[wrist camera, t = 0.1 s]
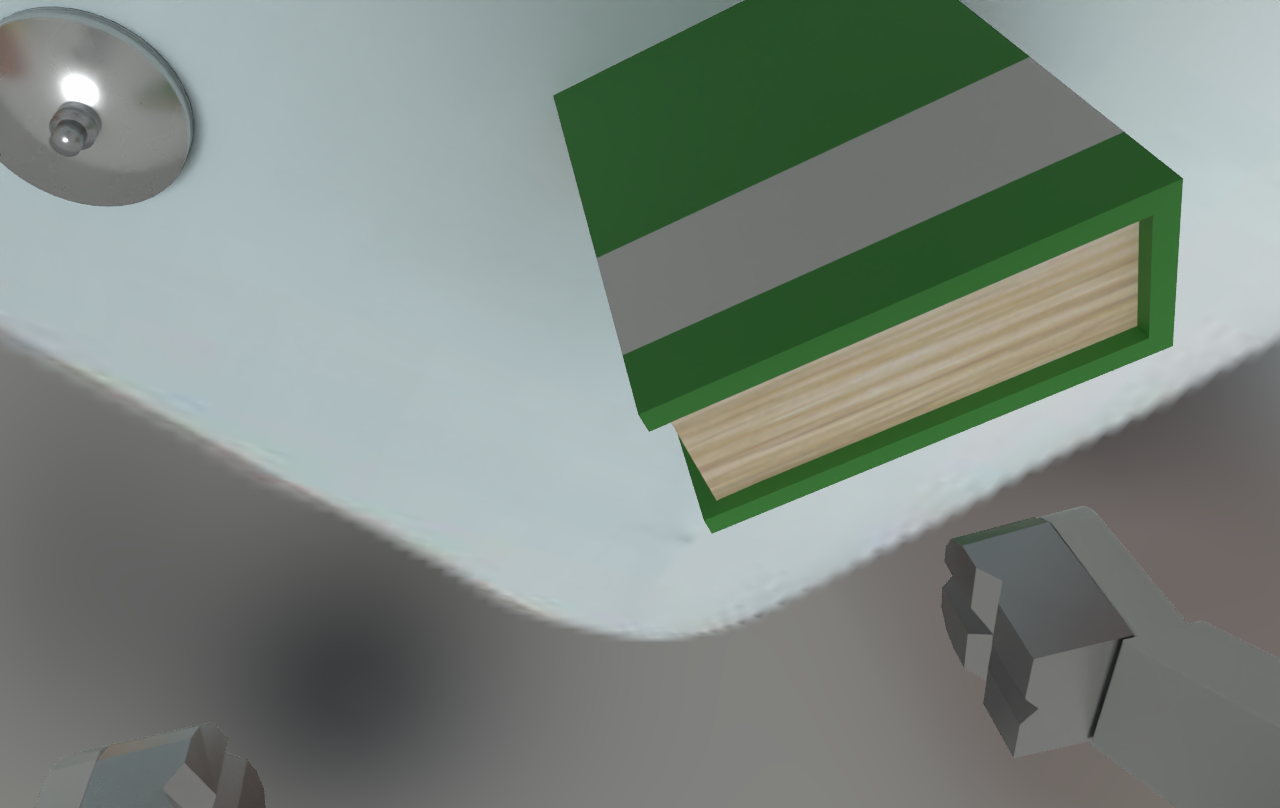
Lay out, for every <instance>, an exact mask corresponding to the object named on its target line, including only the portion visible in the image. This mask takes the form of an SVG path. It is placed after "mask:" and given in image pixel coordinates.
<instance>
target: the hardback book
mask: <svg viewBox="0 0 1280 808" xmlns="http://www.w3.org/2000/svg"><path fill="white" fill-rule="evenodd" d="M554 100H555V103H556V107H557V111H558V115H559V118H560V122H561V126H562V130H563V133H564V137H565V141H566V145H567V148H568V152H569V156H570V160H571V163H572V167H573V171H574V175H575V178H576V182H577V186H578V190H579V193H580V197H581V201H582V205H583V208H584V212H585V216H586V220H587V223H588V227H589V231H590V235H591V238H592V242H593V246H594V250H595V253H596V257H597V261H598V265H599V268H600V272H601V276H602V280H603V283H604V287H605V291H606V295H607V298H608V302H609V306H610V310H611V313H612V317H613V321H614V325H615V328H616V332H617V336H618V340H619V343H620V347H621V351H622V355H623V358H624V362H625V366H626V370H627V373H628V377H629V381H630V385H631V388H632V392H633V396H634V400H635V403H636V407H637V411H638V415H639V416H640V418H641V419H642V421H643V423H644V424H645V426H646V428H647V429H648V431H649V432H650V431H652V430H654V429H657V428H659V427H661V426H664V425H666V424H668V423H672V425H673V427H674V428H675V430H676V432H677V434H678V437H679V440H680V443H681V447H682V450H683V453H684V456H685V460H686V463H687V466H688V470H689V473H690V476H691V479H692V483H693V486H694V489H695V492H696V496H697V499H698V502H699V506H700V509H701V512H702V515H703V519H704V521H705V523H706V524H707V526H708V528H709V529H710V531H711V533H715V532H717V531H719V530H722V529H724V528H727V527H729V526H732V525H734V524H737V523H739V522H742V521H744V520H746V519H749V518H751V517H754V516H756V515H759V514H761V513H764V512H766V511H769V510H771V509H773V508H776V507H778V506H781V505H783V504H786V503H788V502H791V501H793V500H796V499H798V498H800V497H803V496H805V495H808V494H810V493H813V492H815V491H818V490H820V489H823V488H825V487H827V486H830V485H832V484H835V483H837V482H840V481H842V480H845V479H847V478H850V477H852V476H854V475H857V474H859V473H862V472H864V471H867V470H869V469H872V468H874V467H877V466H879V465H882V464H884V463H886V462H889V461H891V460H894V459H896V458H899V457H901V456H904V455H906V454H909V453H911V452H913V451H916V450H918V449H921V448H923V447H926V446H928V445H931V444H933V443H936V442H938V441H940V440H943V439H945V438H948V437H950V436H953V435H955V434H958V433H960V432H963V431H965V430H967V429H970V428H972V427H975V426H977V425H980V424H982V423H985V422H987V421H990V420H992V419H994V418H997V417H999V416H1002V415H1004V414H1007V413H1009V412H1012V411H1014V410H1017V409H1019V408H1021V407H1024V406H1026V405H1029V404H1031V403H1034V402H1036V401H1039V400H1041V399H1044V398H1046V397H1049V396H1051V395H1053V394H1056V393H1058V392H1061V391H1063V390H1066V389H1068V388H1071V387H1073V386H1076V385H1078V384H1080V383H1083V382H1085V381H1088V380H1090V379H1093V378H1095V377H1098V376H1100V375H1103V374H1105V373H1107V372H1110V371H1112V370H1115V369H1117V368H1120V367H1122V366H1125V365H1127V364H1130V363H1132V362H1134V361H1137V360H1139V359H1142V358H1144V357H1147V356H1149V355H1152V354H1154V353H1157V352H1159V351H1161V350H1164V349H1166V348H1169V347H1171V346H1173V332H1174V316H1175V299H1176V283H1177V267H1178V250H1179V234H1180V217H1181V201H1182V184H1183V178H1182V177H1180V176H1179V175H1178V174H1177V173H1175V172H1174V171H1173V170H1172V169H1170V168H1169V167H1168V166H1166V165H1165V164H1164V163H1163V162H1161V161H1160V160H1159V159H1158V158H1156V157H1155V156H1154V155H1153V154H1151V153H1150V152H1149V151H1148V150H1146V149H1145V148H1144V147H1143V146H1141V145H1140V144H1139V143H1138V142H1136V141H1135V140H1134V139H1133V138H1131V137H1130V136H1129V135H1127V134H1126V133H1125V132H1124V131H1122V130H1121V129H1120V128H1119V127H1117V126H1116V125H1115V124H1114V123H1112V122H1111V121H1110V120H1109V119H1107V118H1106V117H1105V116H1104V115H1102V114H1101V113H1100V112H1099V111H1097V110H1096V109H1095V108H1093V107H1092V106H1091V105H1090V104H1088V103H1087V102H1086V101H1085V100H1083V99H1082V98H1081V97H1080V96H1078V95H1077V94H1076V93H1075V92H1073V91H1072V90H1071V89H1070V88H1068V87H1067V86H1066V85H1065V84H1063V83H1062V82H1061V81H1060V80H1058V79H1057V78H1056V77H1054V76H1053V75H1052V74H1051V73H1049V72H1048V71H1047V70H1046V69H1044V68H1043V67H1042V66H1041V65H1039V64H1038V63H1037V62H1036V61H1034V60H1033V59H1032V58H1031V57H1029V56H1028V55H1027V54H1026V53H1024V52H1023V51H1022V50H1020V49H1019V48H1018V47H1017V46H1015V45H1014V44H1013V43H1012V42H1010V41H1009V40H1008V39H1007V38H1005V37H1004V36H1003V35H1002V34H1000V33H999V32H998V31H997V30H995V29H994V28H993V27H992V26H990V25H989V24H988V23H987V22H985V21H984V20H983V19H981V18H980V17H979V16H978V15H976V14H975V13H974V12H973V11H971V10H970V9H969V8H968V7H966V6H965V5H964V4H963V3H961V2H960V1H959V0H745V1H743V2H740V3H738V4H736V5H734V6H732V7H730V8H728V9H726V10H724V11H722V12H720V13H718V14H716V15H714V16H712V17H710V18H708V19H706V20H704V21H702V22H700V23H698V24H696V25H694V26H692V27H690V28H688V29H686V30H684V31H682V32H680V33H678V34H676V35H674V36H672V37H670V38H668V39H666V40H664V41H662V42H660V43H658V44H656V45H654V46H652V47H650V48H648V49H646V50H644V51H642V52H640V53H638V54H636V55H634V56H632V57H630V58H628V59H626V60H624V61H622V62H620V63H618V64H616V65H614V66H612V67H610V68H608V69H606V70H604V71H602V72H600V73H598V74H596V75H594V76H592V77H590V78H588V79H586V80H584V81H582V82H580V83H578V84H576V85H574V86H572V87H570V88H568V89H566V90H564V91H562V92H560V93H558V94H556V95H554Z"/></svg>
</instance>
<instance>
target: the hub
mask: <svg viewBox="0 0 1280 808" xmlns="http://www.w3.org/2000/svg"><path fill="white" fill-rule="evenodd" d="M193 131H194V128H193V114H192V108H191V105H190V102H189V99H188V96H187V94H186V92H185V89H184V87H183V85H182V83H181V82H180V80H179V78H178V77H177V75H176V74H175V72H174V71H173V70H172V68H171V67H170V66H169V64H168V63H167V62H166V61H165V60H164V59H163V58H162V57H161V55H160V54H159V53H158V52H157V51H156V50H155V49H153V48H152V47H151V46H150V45H149V44H148V43H146V42H145V41H144V40H143V39H141V38H140V37H138V36H137V35H135V34H134V33H133V32H131V31H129V30H128V29H126V28H124V27H122V26H121V25H119V24H117V23H115V22H113V21H110V20H108V19H106V18H104V17H101V16H98V15H95V14H92V13H89V12H85V11H81V10H76V9H71V8H62V7H39V8H33V9H27V10H23V11H20V12H17V13H14V14H12V15H10V16H8V17H6V18H4V19H2V20H1V21H0V162H1V163H2V164H3V165H5V166H6V167H7V168H8V169H9V170H11V171H12V172H13V173H14V174H16V175H17V176H19V177H20V178H22V179H23V180H25V181H26V182H28V183H30V184H31V185H33V186H35V187H37V188H39V189H41V190H43V191H45V192H47V193H50V194H52V195H54V196H57V197H60V198H63V199H66V200H69V201H73V202H77V203H81V204H87V205H94V206H123V205H129V204H134V203H138V202H141V201H144V200H147V199H149V198H151V197H153V196H155V195H157V194H159V193H160V192H162V191H163V190H165V189H166V188H167V187H168V186H169V185H170V184H171V183H172V182H173V181H174V180H175V178H176V177H177V176H178V174H179V173H180V171H181V169H182V167H183V165H184V162H185V160H186V157H187V154H188V152H189V149H190V146H191V143H192V138H193Z"/></svg>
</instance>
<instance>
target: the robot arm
mask: <svg viewBox="0 0 1280 808" xmlns="http://www.w3.org/2000/svg"><path fill="white" fill-rule="evenodd" d="M944 562H945V564H946V565H947V567H948V569H949V570H950V572H951V574H952V577H951V578H950V579H949V580H948V581H947V582H946V584H945V585H944V586H943V587H942V604H941V608H942V612H943V617H944V621H945V626H946V630H947V633H948V635H949V638H950V640H951V643H952V645H953V648H954V650H955V652H956V654H957V656H958V657H959V659H960V661H961V663H962V665H963V667H964V668H965V669H966V670H968V671H970V672H971V673H973V674H975V675H976V676H978V677H979V678H981V679H983V680H985V681H986V687H985V694H984V701H983V704H984V706H985V708H986V709H987V711H988V713H989V715H990V717H991V718H992V720H993V722H994V724H995V726H996V728H997V729H998V731H999V733H1000V735H1001V736H1002V738H1003V740H1004V742H1005V744H1006V746H1007V748H1008V749H1009V751H1010V753H1011V755H1012V756H1013V758H1017V757H1021V756H1025V755H1030V754H1035V753H1039V752H1043V751H1048V750H1052V749H1057V748H1061V747H1066V746H1070V745H1074V744H1079V743H1084V742H1088V741H1092V743H1091V746H1093V747H1094V748H1095V749H1097V750H1098V751H1099V752H1101V753H1102V754H1104V755H1105V756H1107V757H1108V758H1109V759H1110V760H1112V761H1113V762H1115V763H1116V764H1117V765H1119V766H1120V767H1121V768H1123V769H1124V770H1126V771H1127V772H1128V773H1129V774H1131V775H1132V776H1134V777H1135V778H1136V779H1138V780H1139V781H1141V782H1142V783H1143V784H1144V785H1146V786H1147V787H1149V788H1150V789H1151V790H1153V791H1154V792H1155V793H1157V794H1158V795H1159V796H1161V797H1162V798H1164V799H1165V800H1166V801H1168V802H1169V803H1170V804H1172V805H1173V806H1175V807H1176V808H1280V658H1278V657H1275V656H1273V655H1271V654H1269V653H1267V652H1265V651H1263V650H1261V649H1259V648H1257V647H1255V646H1253V645H1251V644H1249V643H1247V642H1245V641H1243V640H1240V639H1239V638H1237V637H1235V636H1233V635H1231V634H1229V633H1227V632H1225V631H1223V630H1220V629H1218V628H1216V627H1214V626H1212V625H1210V624H1208V623H1206V622H1204V621H1198V622H1193V623H1187V621H1186V620H1185V619H1184V618H1183V617H1182V616H1181V614H1180V613H1179V612H1178V611H1177V610H1176V608H1175V607H1174V606H1173V605H1172V603H1171V602H1170V601H1169V600H1168V599H1167V597H1166V596H1165V595H1164V594H1163V593H1162V592H1161V590H1160V589H1159V588H1158V587H1157V585H1156V584H1155V583H1154V582H1153V580H1152V579H1151V578H1150V577H1149V576H1148V575H1147V573H1146V572H1145V571H1144V570H1143V568H1142V567H1141V566H1140V565H1139V564H1138V562H1137V561H1136V560H1135V559H1134V558H1133V557H1132V555H1131V554H1130V553H1129V552H1128V550H1127V549H1126V548H1125V547H1124V546H1123V544H1122V543H1121V542H1120V541H1119V540H1118V538H1117V537H1116V536H1115V535H1114V534H1113V532H1112V531H1111V530H1110V529H1109V527H1108V526H1107V525H1106V524H1105V523H1104V521H1103V520H1102V519H1101V518H1100V517H1099V515H1097V513H1096V512H1095V511H1093V510H1091V509H1089V508H1088V507H1086V506H1084V507H1077V508H1073V509H1069V510H1065V511H1061V512H1058V513H1054V514H1050V515H1046V516H1042V517H1039V518H1035V517H1033V518H1029V519H1025V520H1022V521H1017V522H1014V523H1010V524H1006V525H1002V526H999V527H994V528H991V529H987V530H983V531H979V532H976V533H972V534H968V535H964V536H960V537H956V538H952V539H951V540H950V541H949V542H948V544H947V545H946V549H945V559H944ZM227 741H228V737H227V736H226V735H225V734H224V733H223V732H222V731H221V730H220V729H219V728H218V727H217V726H216V725H215V724H214V723H213V722H210V723H206V724H201V725H197V726H192V727H188V728H183V729H179V730H175V731H170V732H166V733H161V734H157V735H152V736H148V737H143V738H139V739H134V740H130V741H125V742H121V743H116V744H111V745H107V746H103V747H99V748H95V749H90V750H86V751H82V752H78V753H73V754H69V755H65V756H62V757H61V758H60V759H59V760H58V762H57V763H56V764H55V765H54V766H53V767H52V768H51V770H50V771H49V772H48V774H47V776H46V779H45V781H44V784H43V786H42V789H41V791H40V794H39V797H38V799H37V802H36V804H35V807H34V808H266V806H265V794H264V787H263V785H262V782H261V780H260V778H259V775H258V773H257V771H256V769H255V768H254V767H253V766H252V765H251V763H250V762H249V761H248V760H247V759H245V758H242V757H238V756H235V755H232V754H229V753H226V752H225V751H226V746H227Z"/></svg>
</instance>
